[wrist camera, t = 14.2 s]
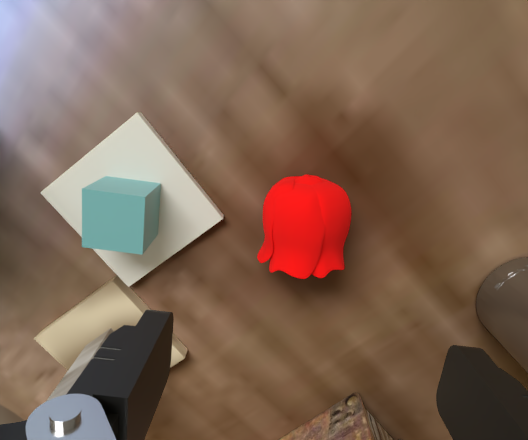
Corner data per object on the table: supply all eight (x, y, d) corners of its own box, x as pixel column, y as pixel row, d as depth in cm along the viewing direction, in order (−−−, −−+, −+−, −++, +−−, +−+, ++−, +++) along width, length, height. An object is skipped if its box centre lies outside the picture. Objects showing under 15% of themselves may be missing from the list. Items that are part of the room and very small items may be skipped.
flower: (375, 183, 32) (362, 274, 34) (323, 167, 39) (314, 245, 41) (289, 185, 29) (281, 286, 31) (248, 167, 36) (244, 251, 38)
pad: (224, 215, 39) (223, 218, 38) (131, 282, 41) (128, 287, 40) (140, 112, 36) (137, 112, 35) (45, 190, 38) (40, 192, 37)
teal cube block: (160, 183, 37) (145, 196, 32) (157, 234, 38) (142, 254, 33) (105, 175, 36) (81, 188, 32) (105, 227, 38) (81, 247, 33)
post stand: (187, 349, 43) (161, 436, 32) (112, 398, 45) (63, 496, 34) (117, 274, 41) (62, 342, 30) (41, 330, 43) (-37, 413, 32)
